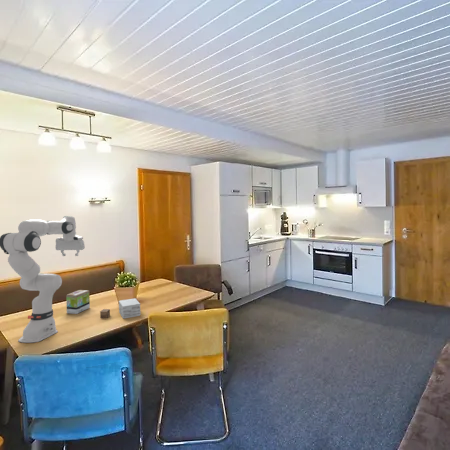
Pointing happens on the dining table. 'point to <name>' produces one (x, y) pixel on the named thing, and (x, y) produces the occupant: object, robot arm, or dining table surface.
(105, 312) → the walnut block
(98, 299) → the dining table surface
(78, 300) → the tea box
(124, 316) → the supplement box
